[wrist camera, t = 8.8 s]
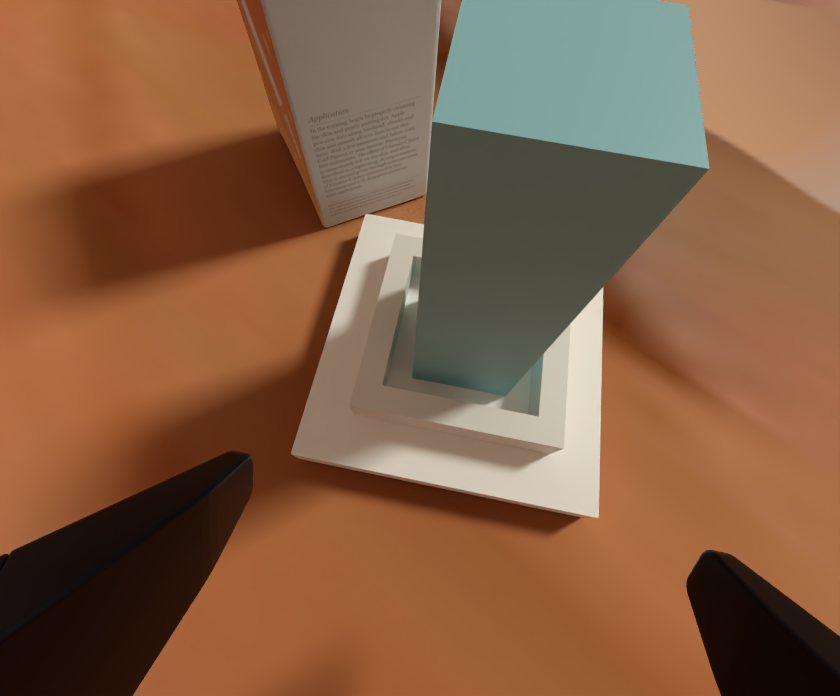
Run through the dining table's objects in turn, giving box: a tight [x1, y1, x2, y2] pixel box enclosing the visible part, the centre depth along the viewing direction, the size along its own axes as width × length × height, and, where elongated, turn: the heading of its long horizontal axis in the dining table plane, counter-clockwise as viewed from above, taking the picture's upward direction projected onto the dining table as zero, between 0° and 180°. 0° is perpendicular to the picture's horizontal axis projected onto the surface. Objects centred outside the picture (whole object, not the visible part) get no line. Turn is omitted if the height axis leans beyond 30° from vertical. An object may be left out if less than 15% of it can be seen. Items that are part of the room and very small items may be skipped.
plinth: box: [291, 214, 603, 518], centre depth 18 cm, size 12×12×3 cm
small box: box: [237, 0, 441, 228], centre depth 17 cm, size 8×6×13 cm
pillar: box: [412, 0, 709, 396], centre depth 12 cm, size 4×4×12 cm
